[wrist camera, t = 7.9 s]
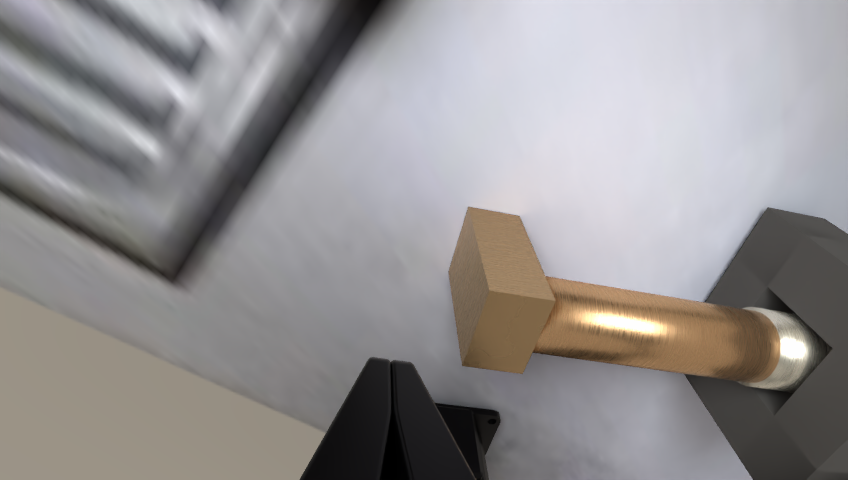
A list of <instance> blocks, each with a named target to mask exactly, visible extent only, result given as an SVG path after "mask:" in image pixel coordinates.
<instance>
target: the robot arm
mask: <svg viewBox="0 0 848 480" xmlns="http://www.w3.org/2000/svg"><path fill="white" fill-rule="evenodd" d="M499 424H500V415H499V413H498V412H497V411H494V410H487V409H479V408H470V407H462V406H454V405H445V404H437V403H434V401H433V400H432V398H431V396H430V394H429V392H428V390H427V389H426V387H425V385H424V383H423V381H422V379H421V378H420V376H419V374H418V372H417V370H416V368H415V367H414V365H413V364H412V363H411V362H406V361H398V360H393V361H392V362H390V360H388V359H383V358H375V357H371V358H369V359H368V361H367V363H366V364H365V366H364V368H363V370H362V371H361V373H360V375H359V377H358V378H357V380H356V382H355V384H354V385H353V387H352V389H351V391H350V392H349V394H348V396H347V398H346V399H345V401H344V403H343V405H342V406H341V408H340V410H339V412H338V413H337V415H336V417H335V419H334V420H333V422H332V424H331V426H330V427H329V429H328V431H327V433H326V434H325V436H324V438H323V440H322V441H321V443H320V445H319V447H318V448H317V450H316V452H315V454H314V455H313V457H312V459H311V461H310V462H309V464H308V466H307V468H306V469H305V471H304V473H303V475H302V476H301V478H300V480H489V478H488V472H487V466H486V460H485V455H486V452H487V450H488V448H489V446H490V444H491V441H492V439H493V437H494V435H495V433H496V431H497V428H498V426H499Z"/></svg>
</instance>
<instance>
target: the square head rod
mask: <svg viewBox="0 0 848 480" xmlns="http://www.w3.org/2000/svg"><path fill="white" fill-rule="evenodd" d="M449 279H450V286H451V293H452V299H453V306H454V313H455V320H456V327H457V334H458V341H459V348H460V355H461V361H462V366H467V367H475V368H482V369H490V370H497V371H505V372H512V373H520V374H523V372H524V370H525V367H526V365H527V363H528V361H529V359H530V357H531V354H532V353H540V354H547V355H554V356H561V357H568V358H575V359H582V360H590V361H597V362H604V363H611V364H618V365H625V366H633V367H640V368H647V369H654V370H661V371H668V372H676V373H683V374H690V375H697V376H704V377H711V378H719V379H726V380H733V381H737V382H738V383H740V384H742V385H745V386H749V387H756V388H764V389H771V390H778V391H785V392H792V393H794V392H795V391H796V390H797V389H798V388H799V387H800V386H801V384H802V383H803V382H804V381H805V380H806V379H807V378H808V376H809V375H810V374H811V373H812V372H813V371H814V370H815V369H816V367H817V366H818V365H819V364H820V363H821V362H822V361H823V359H824V358H825V357H826V356H827V355H828V354H829V353H830V351H831V350H832V349H833V348H832V347H831V346H830V345H829V344H827V343H826V342H825V341H824V340H823V339H822V338H821V337H820V336H819V335H818V334H817V333H816V332H815V331H814V330H813V329H812V328H811V327H810V326H808V325H807V324H806V323H805V322H804V321H803V320H802V319H801V318H800V317H799V316H798V315H797V314H793V313H787V312H781V311H775V310H769V309H763V308H757V307H745V308H742V309H741V308H735V307H729V306H723V305H717V304H711V303H704V302H698V301H692V300H686V299H680V298H674V297H668V296H662V295H656V294H650V293H644V292H638V291H632V290H626V289H620V288H614V287H607V286H601V285H595V284H589V283H583V282H577V281H571V280H565V279H559V278H553V277H547V276H545V275H544V272H543V270H542V268H541V265H540V263H539V261H538V258H537V256H536V254H535V251H534V249H533V247H532V244H531V242H530V240H529V237H528V235H527V233H526V230H525V228H524V226H523V223H522V221H521V219H520V216H516V215H510V214H505V213H499V212H494V211H489V210H483V209H478V208H472V207H468V209H467V213H466V216H465V219H464V223H463V226H462V229H461V232H460V236H459V239H458V242H457V246H456V249H455V252H454V255H453V259H452V262H451V265H450V269H449Z"/></svg>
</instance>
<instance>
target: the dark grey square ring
mask: <svg viewBox="0 0 848 480" xmlns="http://www.w3.org/2000/svg"><path fill="white" fill-rule="evenodd" d="M705 303H711V304H717V305H723V306H729V307H735V308H741V309H742V308H745V307H757V308H763V309H769V310H775V311H781V312H787V313H793V314H797V315H798V316H799V317H800V318H801V319H802V320H803V321H804V322H805V323H806V324H807V325H808V326H810V327H811V328H812V329H813V330H814V331H815V332H816V333H817V334H818V335H819V336H820V337H821V338H822V339H823V340H824V341H825V342H826V343H827V344H829V345H830V346H831V347H832V348H833V349H832V350H831V351H830V353H829V354H828V355H827V356H826V357H825V358H824V359H823V361H822V362H821V363H820V364H819V365H818V366H817V367H816V369H815V370H814V371H813V372H812V373H811V374H810V375H809V376H808V378H807V379H806V380H805V381H804V382H803V383H802V384H801V386H800V387H799V388H798V389H797V390H796V391H795V392H794V393H792V392H785V391H778V390H771V389H764V388H756V387H749V386H745V385H742V384H740V383H738V382H737V381H733V380H726V379H719V378H711V377H704V376H697V375H690V374H685V376H686V378H687V379H688V381H689V382H690V384H691V385H692V387H693V388H694V390H695V391H696V393H697V394H698V396H699V397H700V399H701V400H702V402H703V404H704V405H705V407H706V408H707V410H708V411H709V413H710V414H711V416H712V417H713V419H714V420H715V422H716V423H717V425H718V426H719V428H720V430H721V431H722V433H723V434H724V436H725V437H726V439H727V440H728V442H729V443H730V445H731V446H732V448H733V449H734V451H735V453H736V454H737V456H738V457H739V459H740V460H741V462H742V463H743V465H744V466H745V468H746V469H747V471H748V472H749V474H750V475H751V477H752V479H753V480H848V234H847V233H845V232H844V231H842V230H841V229H839V228H838V227H836V226H835V225H833V224H832V223H830V222H829V221H827V220H826V219H823V218H818V217H813V216H808V215H803V214H798V213H793V212H788V211H783V210H778V209H773V208H767V209H766V211H765V212H764V214H763V215H762V217H761V218H760V220H759V221H758V223H757V225H756V226H755V228H754V229H753V231H752V232H751V234H750V235H749V237H748V238H747V240H746V241H745V243H744V244H743V246H742V247H741V249H740V250H739V252H738V253H737V255H736V257H735V258H734V260H733V261H732V263H731V264H730V266H729V267H728V269H727V270H726V272H725V273H724V275H723V276H722V278H721V279H720V281H719V282H718V284H717V285H716V287H715V289H714V290H713V292H712V293H711V295H710V296H709V298H708V299H707V301H706V302H705Z"/></svg>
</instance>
